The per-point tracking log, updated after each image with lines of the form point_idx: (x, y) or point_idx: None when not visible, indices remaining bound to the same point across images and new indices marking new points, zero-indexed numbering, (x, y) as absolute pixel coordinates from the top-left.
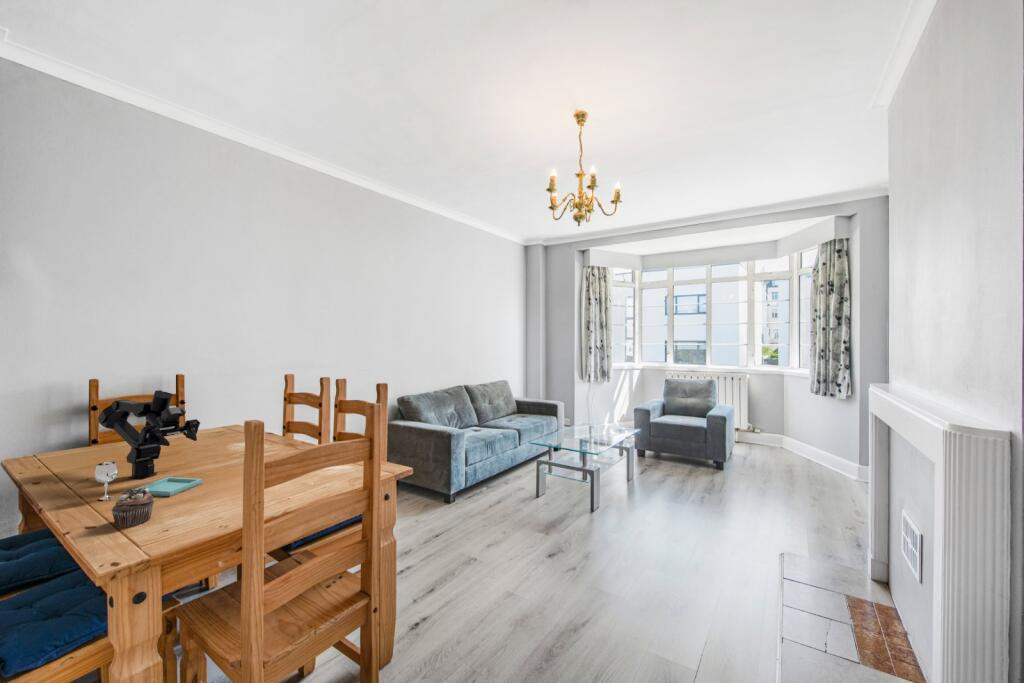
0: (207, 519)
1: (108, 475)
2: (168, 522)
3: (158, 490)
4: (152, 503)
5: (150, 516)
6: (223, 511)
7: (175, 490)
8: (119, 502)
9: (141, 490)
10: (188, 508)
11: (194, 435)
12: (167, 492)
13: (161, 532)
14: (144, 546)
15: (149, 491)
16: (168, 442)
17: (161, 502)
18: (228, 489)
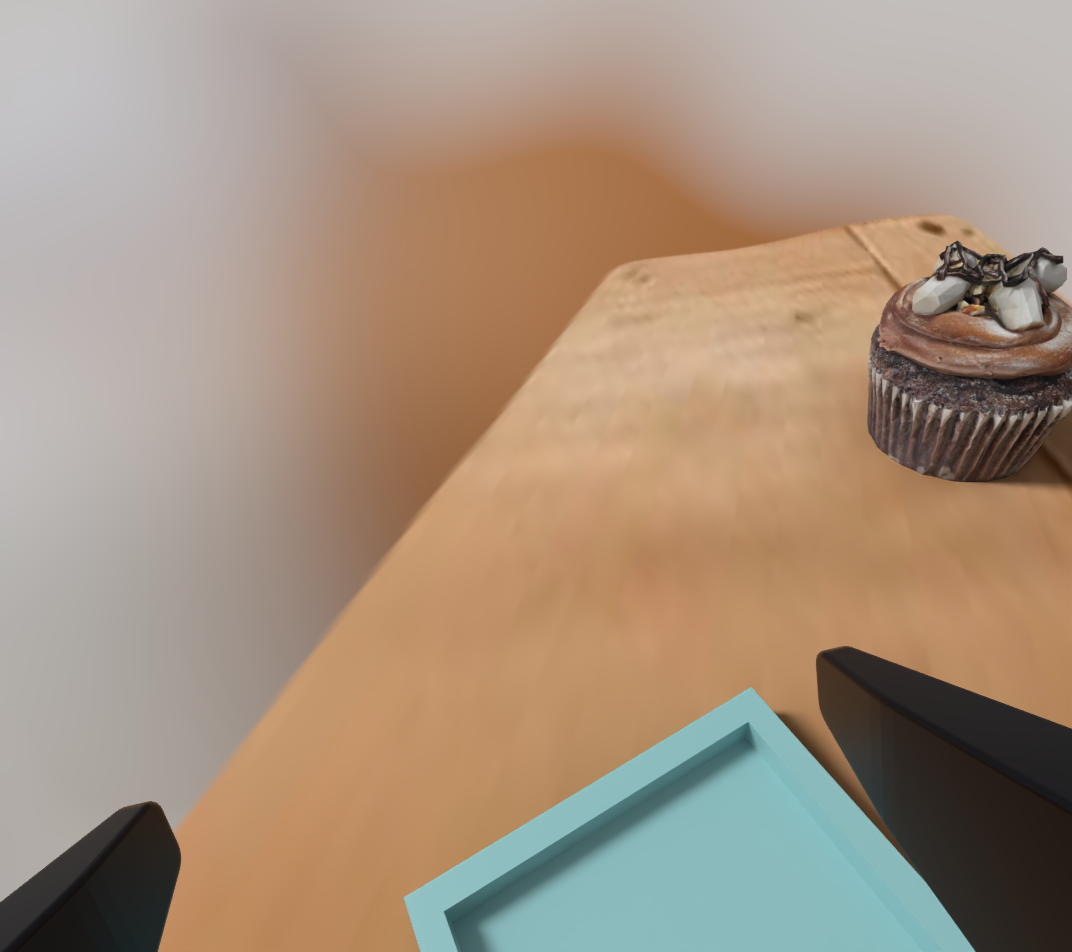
0: (658, 328)
1: None
2: (790, 364)
3: (844, 812)
4: (875, 330)
5: (868, 411)
6: (585, 356)
7: (704, 720)
8: (1051, 293)
9: (955, 259)
10: (688, 449)
11: (40, 901)
12: (769, 711)
13: (818, 312)
14: (867, 265)
15: (933, 898)
16: (856, 662)
17: (811, 628)
18: (400, 592)
